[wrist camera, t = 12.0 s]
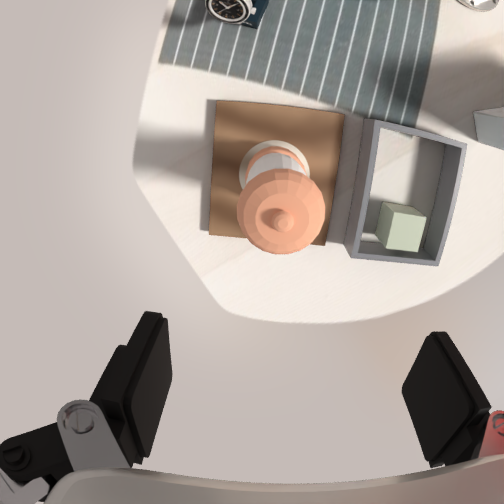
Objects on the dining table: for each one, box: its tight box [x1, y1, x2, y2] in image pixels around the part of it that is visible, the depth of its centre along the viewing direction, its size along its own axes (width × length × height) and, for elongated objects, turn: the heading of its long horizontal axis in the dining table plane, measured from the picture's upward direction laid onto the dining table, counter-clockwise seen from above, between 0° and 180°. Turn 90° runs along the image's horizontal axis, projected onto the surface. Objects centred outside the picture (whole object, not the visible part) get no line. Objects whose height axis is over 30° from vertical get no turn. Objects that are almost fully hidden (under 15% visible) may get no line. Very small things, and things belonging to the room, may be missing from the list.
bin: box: [344, 118, 467, 266], centre depth 40 cm, size 18×14×4 cm
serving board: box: [209, 101, 345, 246], centre depth 41 cm, size 18×16×1 cm
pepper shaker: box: [237, 146, 325, 254], centre depth 32 cm, size 7×7×19 cm
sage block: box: [375, 202, 427, 252], centre depth 42 cm, size 5×5×5 cm
